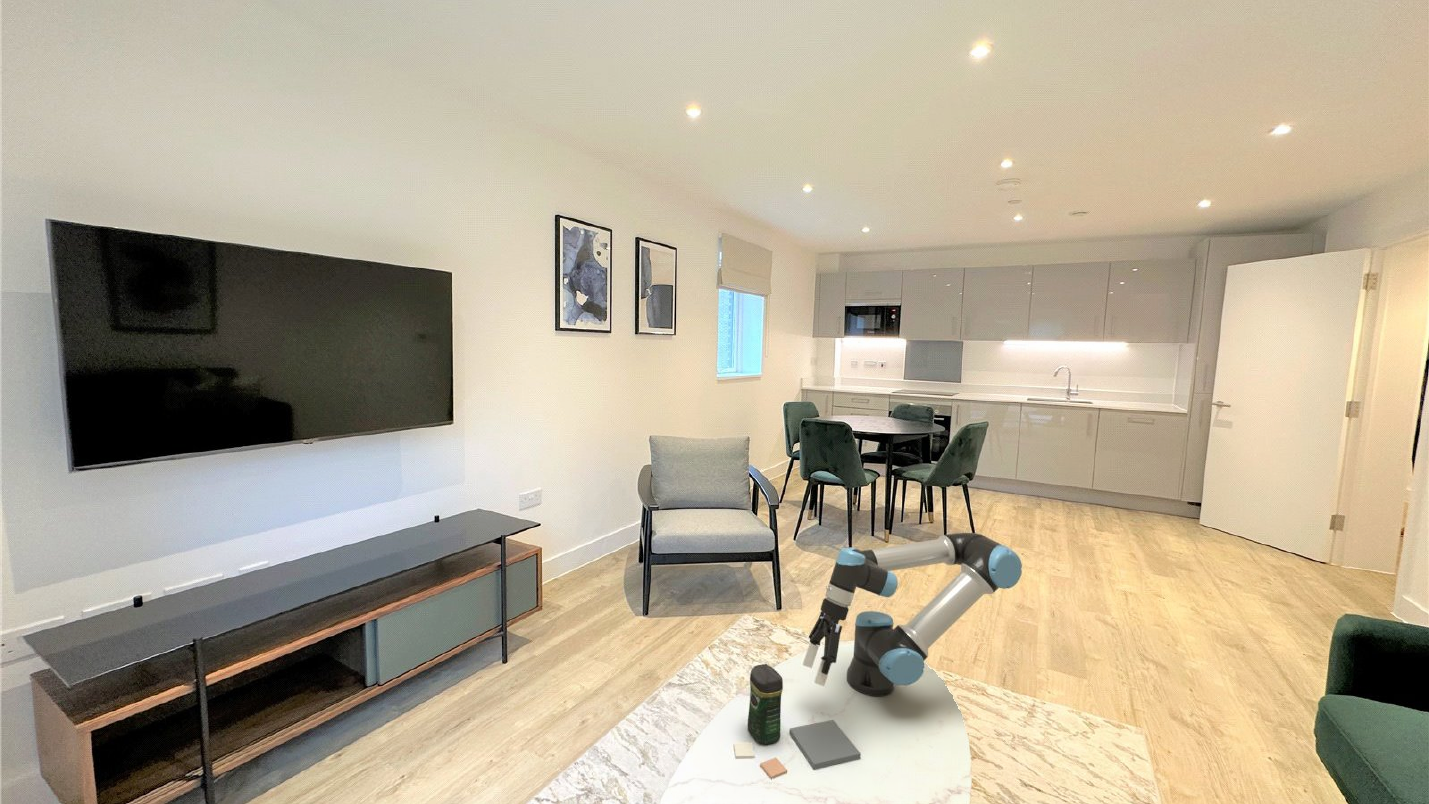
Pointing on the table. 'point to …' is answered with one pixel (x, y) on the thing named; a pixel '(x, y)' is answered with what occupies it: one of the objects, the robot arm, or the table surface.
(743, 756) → the tile
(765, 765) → the tile
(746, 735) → the table surface
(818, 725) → the slate plate
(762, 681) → the coffee jar
